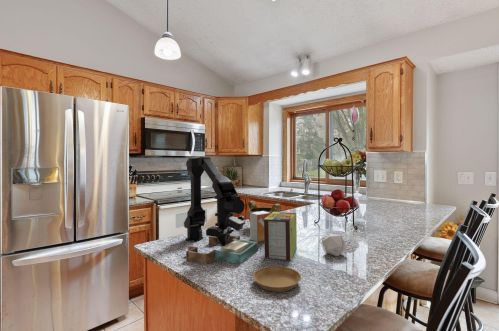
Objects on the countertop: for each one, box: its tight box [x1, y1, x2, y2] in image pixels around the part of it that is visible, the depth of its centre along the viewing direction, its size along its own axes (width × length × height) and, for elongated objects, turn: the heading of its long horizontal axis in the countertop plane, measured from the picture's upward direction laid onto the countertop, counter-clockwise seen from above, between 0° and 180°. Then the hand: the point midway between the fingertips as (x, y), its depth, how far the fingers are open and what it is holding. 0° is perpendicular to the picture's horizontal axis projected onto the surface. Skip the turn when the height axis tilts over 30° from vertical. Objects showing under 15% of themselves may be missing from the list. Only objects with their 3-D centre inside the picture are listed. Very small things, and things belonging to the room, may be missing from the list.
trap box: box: [185, 234, 259, 265], centre depth 109 cm, size 24×26×4 cm
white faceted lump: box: [321, 232, 347, 257], centre depth 106 cm, size 8×9×10 cm
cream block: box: [220, 241, 249, 253], centre depth 108 cm, size 7×10×4 cm
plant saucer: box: [252, 265, 302, 293], centre depth 82 cm, size 15×15×3 cm
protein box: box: [263, 211, 298, 262], centre depth 108 cm, size 10×15×16 cm
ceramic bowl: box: [247, 200, 282, 223], centre depth 147 cm, size 22×17×15 cm
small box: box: [249, 211, 271, 243], centre depth 127 cm, size 8×6×13 cm
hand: (224, 248), depth 109 cm, fingers closed
